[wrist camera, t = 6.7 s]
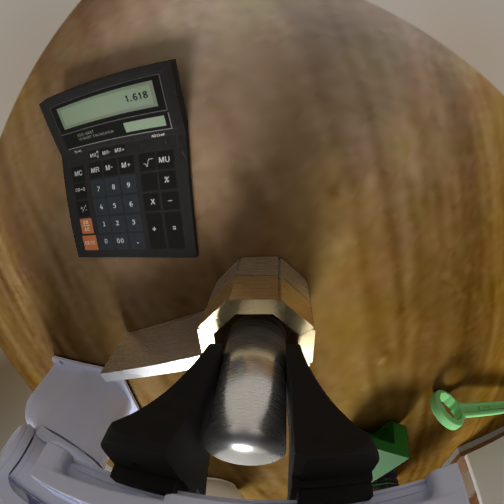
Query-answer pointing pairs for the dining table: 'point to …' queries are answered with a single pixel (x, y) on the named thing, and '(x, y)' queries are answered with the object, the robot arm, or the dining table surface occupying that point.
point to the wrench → (461, 409)
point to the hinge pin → (250, 395)
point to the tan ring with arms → (220, 320)
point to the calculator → (127, 163)
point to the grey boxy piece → (483, 466)
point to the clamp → (390, 447)
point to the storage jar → (385, 481)
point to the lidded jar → (222, 488)
